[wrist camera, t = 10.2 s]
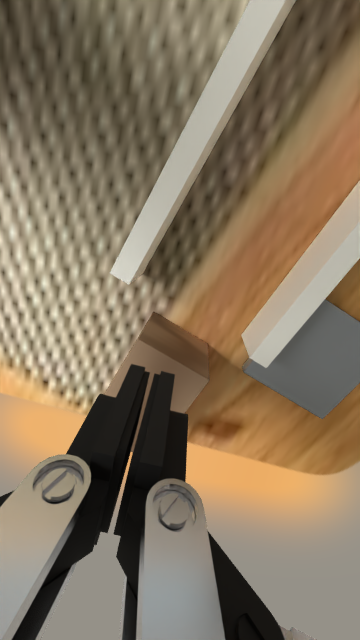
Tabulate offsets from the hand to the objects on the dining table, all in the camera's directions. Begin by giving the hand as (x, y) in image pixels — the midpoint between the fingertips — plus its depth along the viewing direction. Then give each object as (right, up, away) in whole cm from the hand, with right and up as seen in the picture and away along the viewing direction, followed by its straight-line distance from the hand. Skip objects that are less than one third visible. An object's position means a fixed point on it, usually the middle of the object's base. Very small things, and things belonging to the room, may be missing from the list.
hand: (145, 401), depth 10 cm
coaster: (+11, +1, +9) cm, 14 cm away
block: (0, 0, +10) cm, 10 cm away
